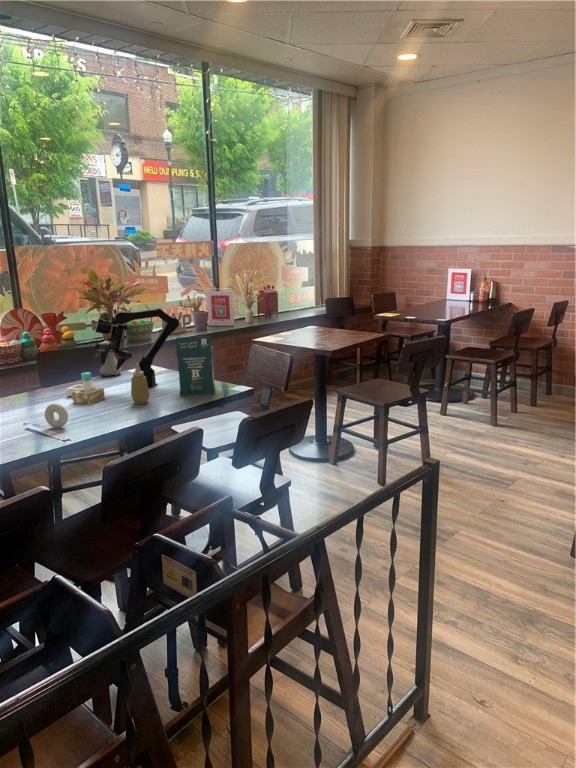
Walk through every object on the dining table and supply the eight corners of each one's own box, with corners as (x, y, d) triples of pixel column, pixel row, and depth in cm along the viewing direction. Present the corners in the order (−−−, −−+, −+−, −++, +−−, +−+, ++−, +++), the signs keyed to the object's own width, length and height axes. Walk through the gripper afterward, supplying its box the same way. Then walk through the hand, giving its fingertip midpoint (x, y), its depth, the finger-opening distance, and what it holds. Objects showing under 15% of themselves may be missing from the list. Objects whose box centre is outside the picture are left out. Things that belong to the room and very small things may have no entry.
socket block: (104, 398, 265) (103, 387, 264) (91, 403, 256) (90, 393, 254) (86, 397, 268) (85, 386, 267) (73, 402, 259) (71, 392, 257)
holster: (92, 393, 275) (91, 385, 274) (82, 397, 267) (81, 389, 266) (78, 392, 277) (77, 384, 276) (67, 396, 270) (66, 388, 269)
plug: (91, 398, 265) (87, 371, 262) (95, 400, 262) (92, 373, 259) (82, 400, 262) (79, 373, 259) (87, 402, 259) (84, 374, 256)
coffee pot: (107, 372, 321) (104, 346, 317) (125, 372, 319) (123, 346, 315) (87, 381, 300) (84, 353, 297) (107, 381, 298) (104, 353, 295)
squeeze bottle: (153, 400, 258) (149, 362, 253) (144, 405, 250) (140, 366, 246) (137, 399, 260) (134, 362, 255) (128, 404, 252) (124, 365, 248)
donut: (71, 426, 223) (68, 402, 221) (65, 429, 220) (62, 405, 217) (50, 425, 226) (46, 401, 223) (44, 428, 223) (40, 404, 220)
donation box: (180, 396, 264) (175, 337, 257) (183, 388, 279) (178, 332, 272) (214, 394, 265) (210, 335, 258) (215, 386, 281) (211, 330, 274)
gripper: (90, 330, 270) (83, 362, 272) (120, 340, 263) (113, 372, 265) (106, 332, 280) (99, 362, 282) (135, 341, 274) (128, 372, 275)
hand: (109, 367), depth 276 cm, fingers open, 9 cm apart
